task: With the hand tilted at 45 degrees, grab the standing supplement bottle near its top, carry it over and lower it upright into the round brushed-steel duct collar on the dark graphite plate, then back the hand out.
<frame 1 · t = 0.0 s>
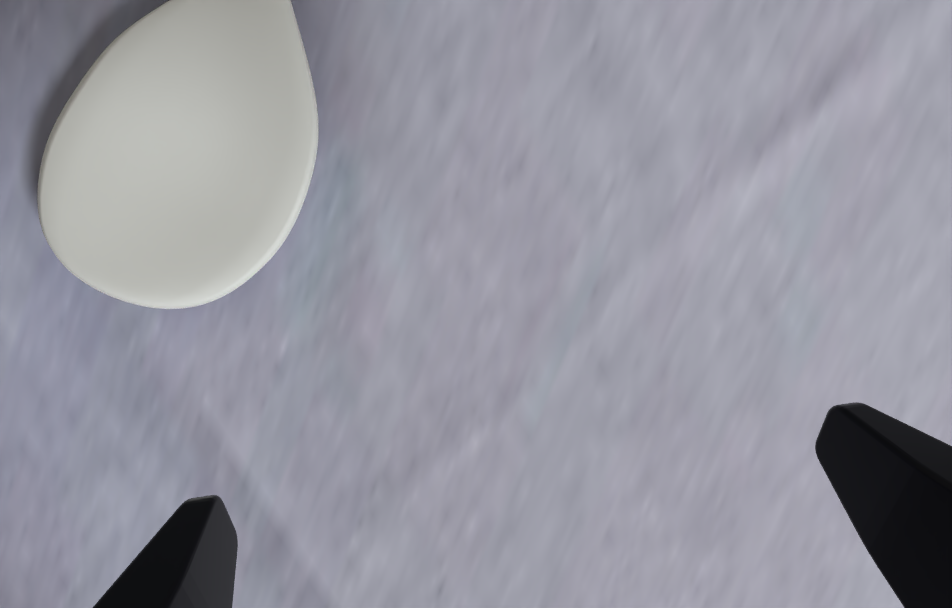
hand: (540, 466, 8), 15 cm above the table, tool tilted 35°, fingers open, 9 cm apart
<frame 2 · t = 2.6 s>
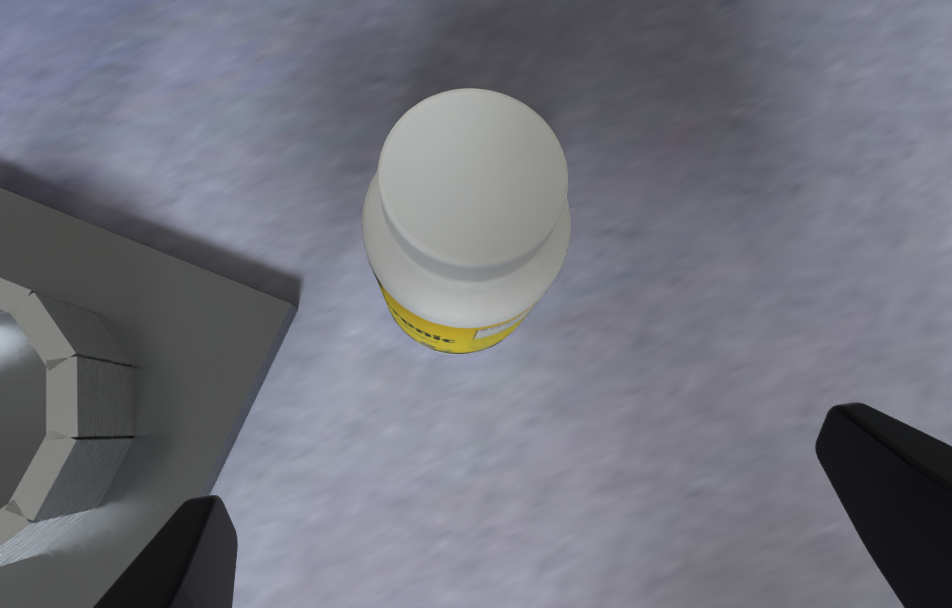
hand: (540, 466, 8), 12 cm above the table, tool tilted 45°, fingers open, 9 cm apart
supplement bottle: (456, 287, 21), on the table
duct collar: (14, 421, 19), on the table
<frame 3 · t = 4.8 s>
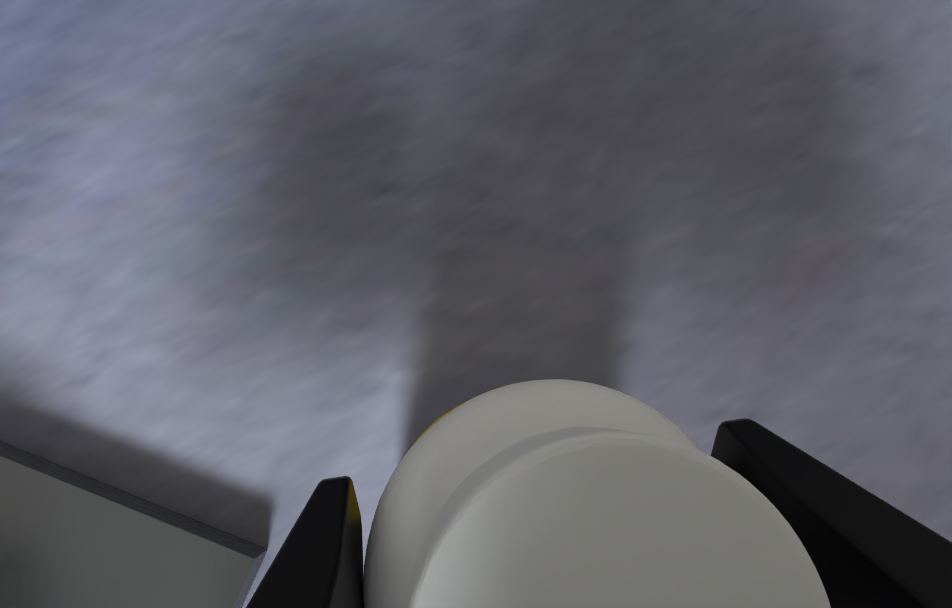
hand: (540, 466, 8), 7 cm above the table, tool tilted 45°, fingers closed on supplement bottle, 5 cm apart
supplement bottle: (500, 504, 15), on the table, touching gripper
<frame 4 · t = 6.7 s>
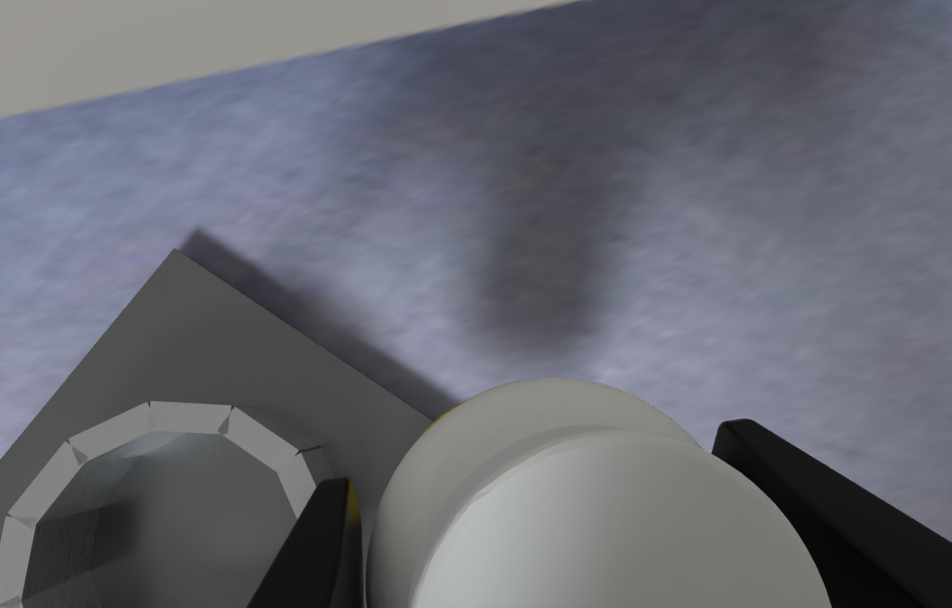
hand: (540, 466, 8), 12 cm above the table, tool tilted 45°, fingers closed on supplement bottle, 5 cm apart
supplement bottle: (502, 502, 15), point 5 cm above the table, touching gripper
duct collar: (220, 536, 19), on the table
when the fingers open (9 cm above the table, at t = 8.6 s): supplement bottle drops 2 cm, resting on duct collar.
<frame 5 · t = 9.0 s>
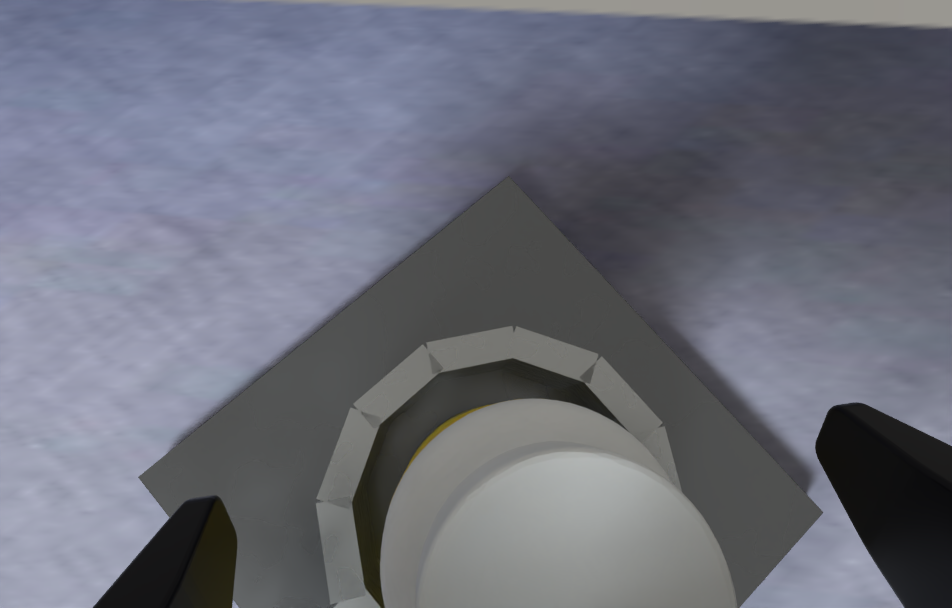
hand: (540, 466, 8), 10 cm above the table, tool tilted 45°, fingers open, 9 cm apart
supplement bottle: (494, 500, 17), point 1 cm above the table, touching duct collar
duct collar: (489, 491, 17), on the table
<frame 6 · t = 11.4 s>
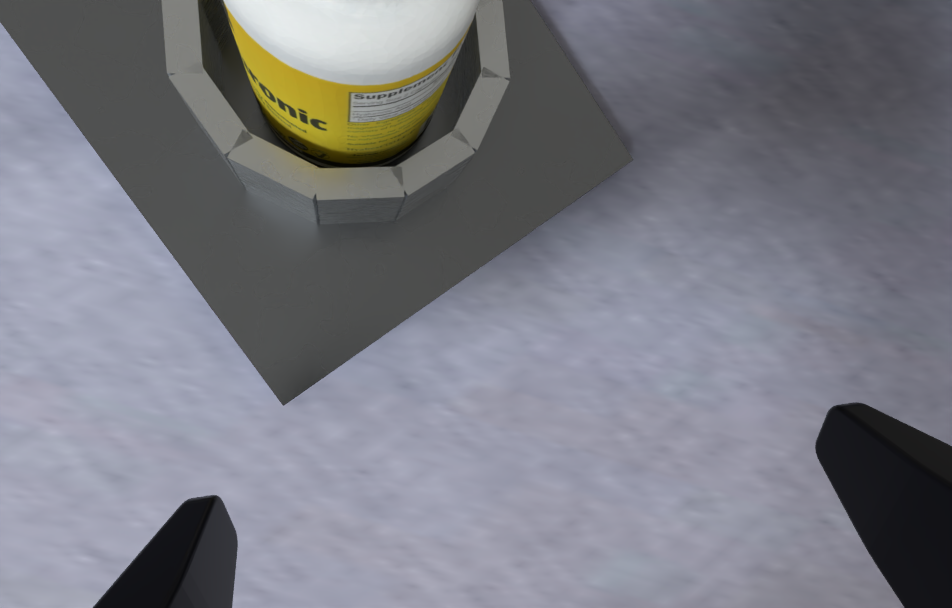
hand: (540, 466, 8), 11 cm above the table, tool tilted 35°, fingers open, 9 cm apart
supplement bottle: (346, 93, 18), point 1 cm above the table, touching duct collar
duct collar: (344, 98, 19), on the table
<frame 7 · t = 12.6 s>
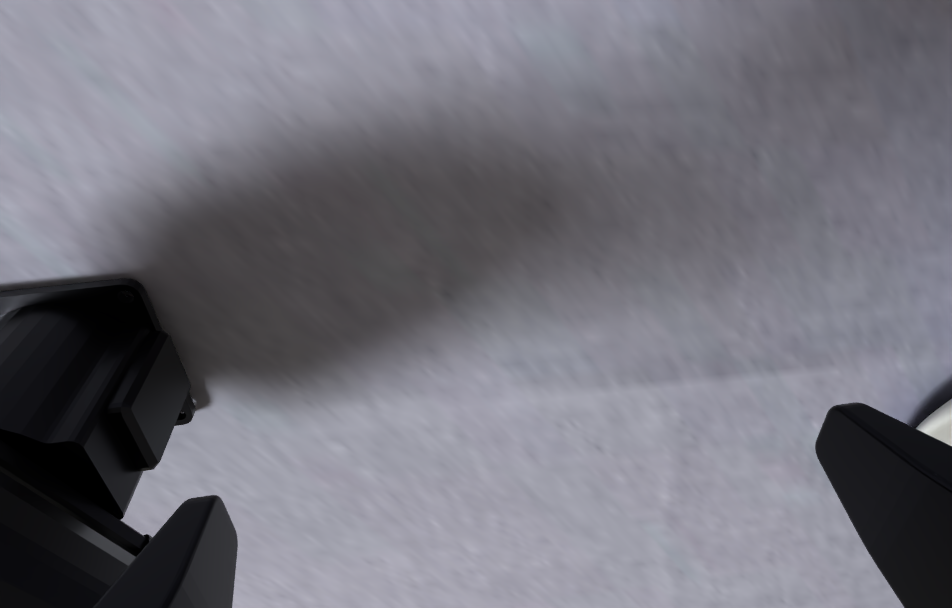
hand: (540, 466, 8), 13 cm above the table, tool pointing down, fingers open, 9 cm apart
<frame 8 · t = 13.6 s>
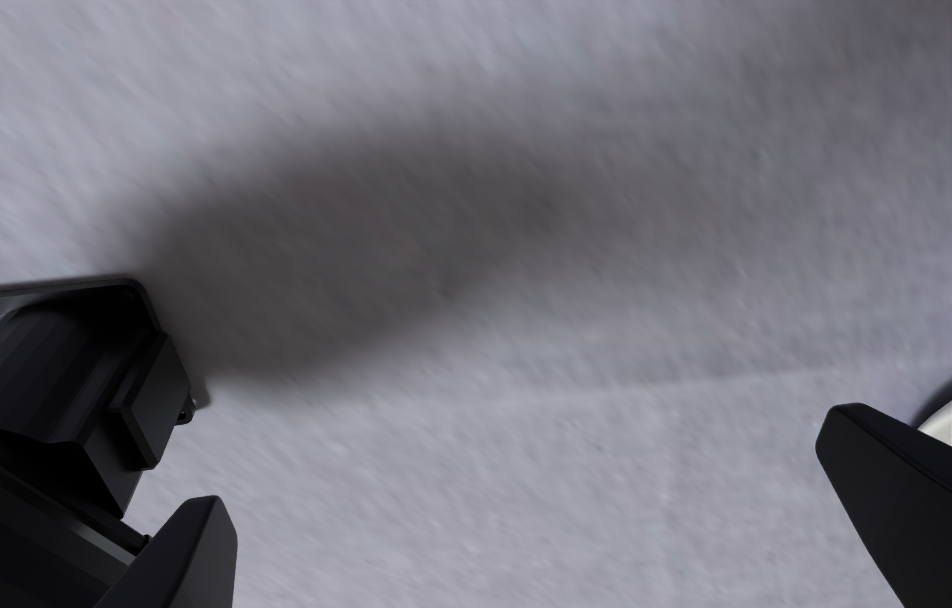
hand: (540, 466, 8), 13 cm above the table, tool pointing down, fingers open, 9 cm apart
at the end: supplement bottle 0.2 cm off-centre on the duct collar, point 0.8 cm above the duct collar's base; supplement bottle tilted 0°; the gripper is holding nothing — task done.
